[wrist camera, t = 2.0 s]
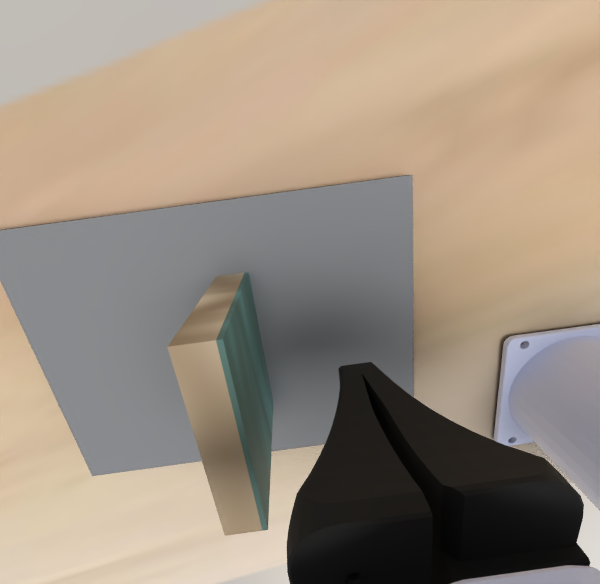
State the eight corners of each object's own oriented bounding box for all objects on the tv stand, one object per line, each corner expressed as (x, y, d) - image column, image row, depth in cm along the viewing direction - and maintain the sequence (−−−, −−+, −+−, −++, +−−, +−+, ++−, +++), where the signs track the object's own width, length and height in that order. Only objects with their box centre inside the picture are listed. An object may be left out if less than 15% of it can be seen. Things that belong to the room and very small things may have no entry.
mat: (407, 175, 15) (412, 174, 14) (410, 424, 20) (413, 431, 20) (-11, 231, 15) (-22, 233, 14) (97, 467, 20) (92, 475, 19)
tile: (248, 272, 16) (222, 339, 9) (273, 403, 18) (267, 529, 12) (216, 276, 16) (167, 346, 9) (246, 407, 18) (225, 535, 12)
